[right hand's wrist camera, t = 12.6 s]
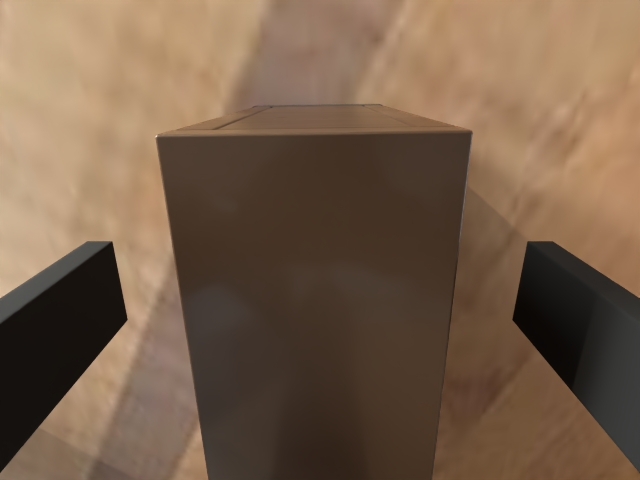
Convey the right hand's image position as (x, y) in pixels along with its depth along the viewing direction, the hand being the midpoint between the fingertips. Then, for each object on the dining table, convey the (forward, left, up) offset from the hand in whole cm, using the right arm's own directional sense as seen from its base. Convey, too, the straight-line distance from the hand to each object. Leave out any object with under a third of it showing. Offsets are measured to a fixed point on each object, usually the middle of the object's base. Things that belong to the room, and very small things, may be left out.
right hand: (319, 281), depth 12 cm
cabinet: (+2, -2, -7) cm, 8 cm away
